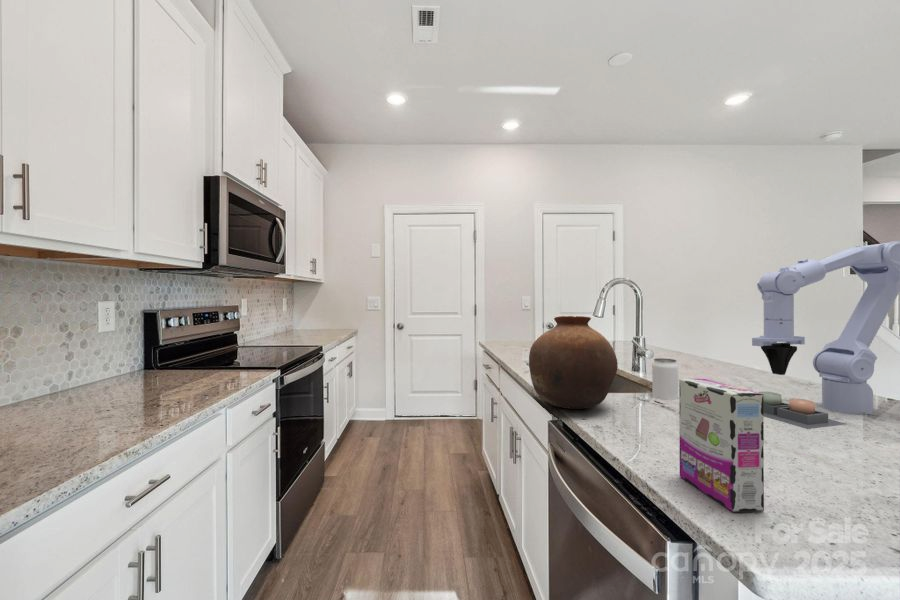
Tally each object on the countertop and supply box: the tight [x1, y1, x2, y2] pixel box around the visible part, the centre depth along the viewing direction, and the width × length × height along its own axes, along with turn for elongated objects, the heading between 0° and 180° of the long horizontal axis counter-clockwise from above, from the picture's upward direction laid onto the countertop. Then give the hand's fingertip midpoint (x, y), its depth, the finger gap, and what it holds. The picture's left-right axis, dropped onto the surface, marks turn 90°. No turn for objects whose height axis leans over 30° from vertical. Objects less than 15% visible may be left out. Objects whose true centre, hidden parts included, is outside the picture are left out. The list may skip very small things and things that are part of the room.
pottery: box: [528, 315, 619, 410], centre depth 104 cm, size 23×23×25 cm
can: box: [651, 357, 680, 405], centre depth 108 cm, size 6×6×12 cm
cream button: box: [733, 385, 753, 391], centre depth 101 cm, size 4×4×2 cm
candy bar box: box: [678, 378, 765, 513], centre depth 58 cm, size 11×5×16 cm, turn 5°
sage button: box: [757, 391, 783, 406], centre depth 94 cm, size 4×4×2 cm
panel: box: [763, 402, 847, 430], centre depth 94 cm, size 12×24×4 cm, turn 14°
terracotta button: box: [788, 398, 816, 414], centre depth 87 cm, size 4×4×2 cm
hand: (778, 374), depth 95 cm, fingers closed
